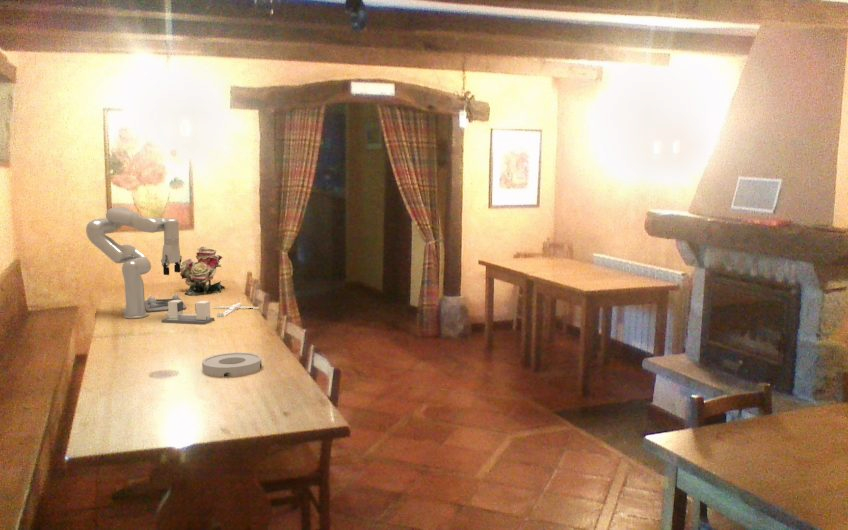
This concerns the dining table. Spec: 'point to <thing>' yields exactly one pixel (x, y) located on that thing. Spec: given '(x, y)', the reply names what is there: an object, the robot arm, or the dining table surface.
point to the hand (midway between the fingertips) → (171, 273)
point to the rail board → (187, 321)
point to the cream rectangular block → (175, 308)
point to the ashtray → (231, 364)
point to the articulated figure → (231, 309)
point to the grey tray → (159, 304)
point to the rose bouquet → (201, 272)
